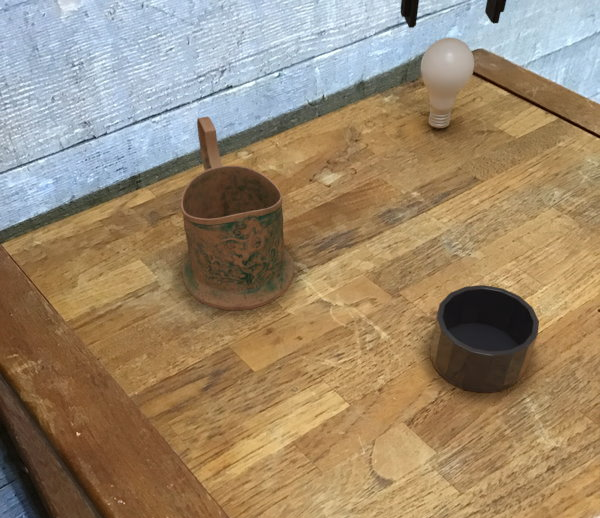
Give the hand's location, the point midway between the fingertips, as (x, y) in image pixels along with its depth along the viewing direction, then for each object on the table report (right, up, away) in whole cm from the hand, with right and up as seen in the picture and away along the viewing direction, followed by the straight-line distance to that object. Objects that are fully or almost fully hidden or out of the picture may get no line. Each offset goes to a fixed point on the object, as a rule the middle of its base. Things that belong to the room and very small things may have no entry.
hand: (450, 20), depth 85 cm
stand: (-1, -40, -16) cm, 43 cm away
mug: (-25, -28, -6) cm, 38 cm away
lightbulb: (+1, -9, +10) cm, 13 cm away
